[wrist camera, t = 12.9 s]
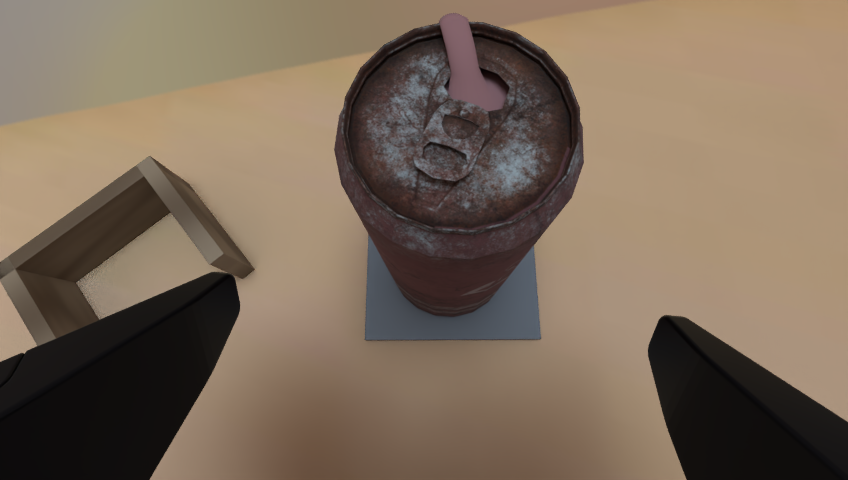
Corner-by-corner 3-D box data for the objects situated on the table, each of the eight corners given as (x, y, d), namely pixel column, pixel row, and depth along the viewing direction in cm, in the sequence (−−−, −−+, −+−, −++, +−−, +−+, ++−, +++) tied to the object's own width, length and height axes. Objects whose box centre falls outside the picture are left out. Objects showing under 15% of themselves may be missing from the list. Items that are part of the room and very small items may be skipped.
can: (486, 192, 24) (546, -26, 11) (518, 303, 22) (639, 209, 9) (381, 216, 24) (305, 25, 10) (404, 329, 22) (350, 275, 9)
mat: (539, 339, 22) (540, 338, 22) (365, 340, 22) (364, 339, 22) (527, 178, 24) (528, 176, 24) (371, 181, 25) (370, 179, 24)
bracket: (254, 269, 24) (223, 253, 20) (116, 379, 22) (58, 382, 19) (188, 183, 25) (149, 155, 22) (55, 281, 24) (-8, 267, 20)
